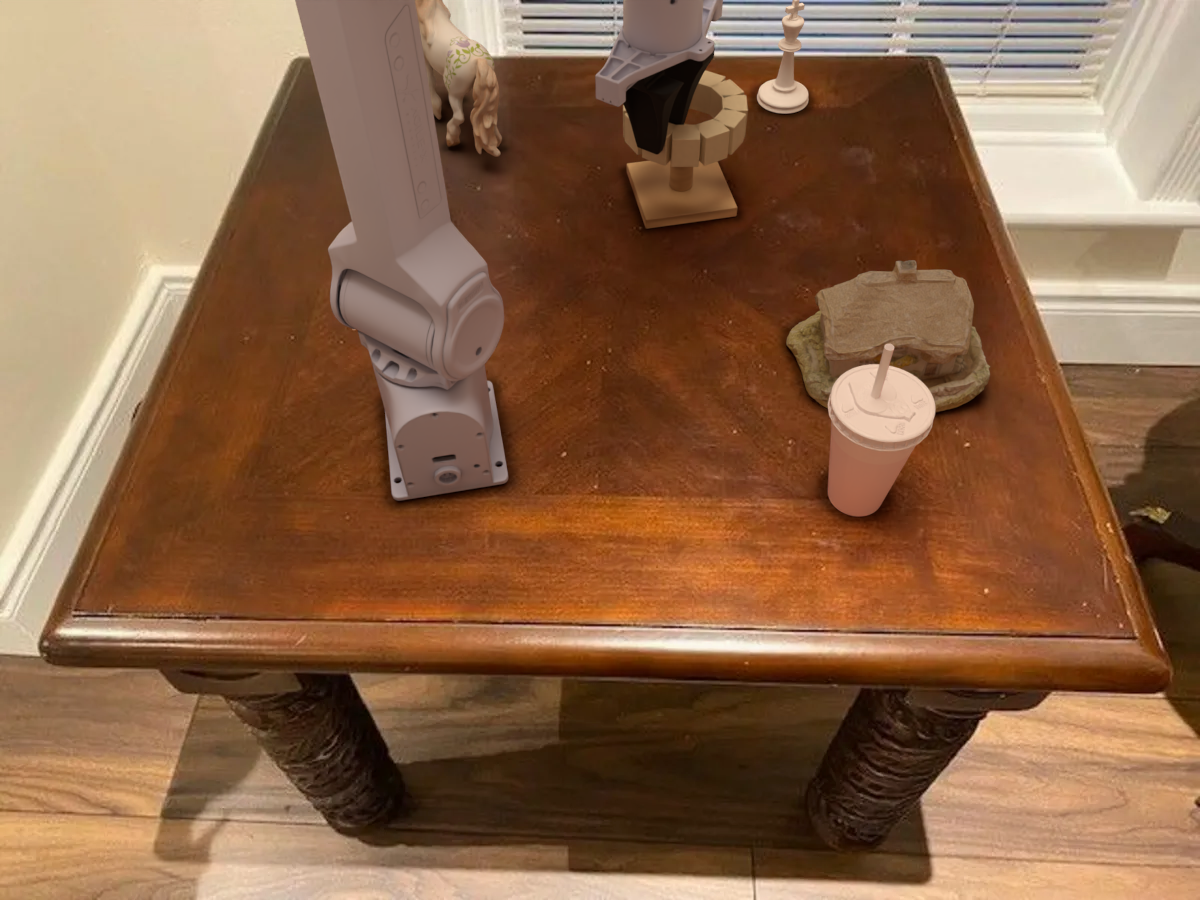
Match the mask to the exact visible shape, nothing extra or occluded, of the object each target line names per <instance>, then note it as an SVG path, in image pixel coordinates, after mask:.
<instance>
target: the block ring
mask: <svg viewBox="0 0 1200 900" xmlns="http://www.w3.org/2000/svg"><path fill="white" fill-rule="evenodd" d="M726 78H727V77H726V76H725V75H722V74H718V73H716V72H712V71H710V70H707V69H706V70H705V71H704V73H703V75H702V77H701V79H700V81H699V83H698V85H697V87H696V90H695V92H694V95H693V98H692V101H691V104H690V107H689V110H694V111H697V112H700V113H703V114H706V115H709V116H710V117H711V119H708V120H705V121H703V122H699V123H696V124H689V125H675V124H672V123H668V130H667V136H666V141H665V145H664V148H663V150H662V151H661V152H660V153H659V154H657V155H656V154H654V153H651V152H649V151H646V150H643V149H641V148H638V147H637V144H636V141H635V137H634V134H633V130H632V126H631V123H630V120H629V117H628V114H627V112H626V109H625V107H624V105H623V104H622V138H623V139H624V142H625V144H627V146H628V147H629V148H630V149H631V150H632V151H633V152H634V153H635V154H636V155H637V156H639V155H641V158H642V159H645V160H646V161H653V162H656V163H659V164H661V165H664V166H666V165H667V164H668V162H669V161H670V160H671V167H698V166H699V161H700V162H701V163H702V164H703V165H704V166H706V165H709V164H711V163H714V162H717V161H718V162H719V161H720V162H721V161H722V160H725V159H728V155H730V156H731V155H733V154H734V153H735V151H737V149H738V148H739V147H740V146H741V145H742V144H743V143H744V140H745V138H746V132H747V125H748V123H747V122H748V115H749V114H748V113H749V107H748V97H747V94H745V91H744V89H742V88H741V87H740V86H738V84H736V83H735V82H734V81H733V80H732V79H730V78H729V79H726Z"/></svg>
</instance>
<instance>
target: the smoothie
mask: <svg viewBox="0 0 1200 900" xmlns="http://www.w3.org/2000/svg"><path fill="white" fill-rule="evenodd" d="M893 351H894V346H893V345H892V344H886V345H885V347H884V350H883V354H882V357H881V361H880V364H869V365H862V366H858V367H855V368H852V369H850V370H848V371H847V372H845V373H843V374H842V375H841V376H840V377H839V378H838V379H837V380H836V382H835V383H834V385H833V387H832V391H831V394H830V396H829V400H828V408H827V412H828V416H829V418H830V420H831V422H830V443H829V444H830V445H829V459H828V460H829V462H828V476H827V477H828V479H827V496H828V499H829V502H830V503H831V504H832V506H833V507H834V508H835V509H837V510H838V511H839V512H841V513H842V514H845V515H848V516H851V517H867V516H870V515H872V514H874V513H875V512H877V511H878V510H879V508H880V507H881V506H882V504H883V502H884V500H885V499H886V497H887V495H888V493H889V492H890V490H891V489H892V487H893V485H894V484H895V482H896V480H897V478H898V476H900V473H901V471H902V469H903V468H904V466H905V465H906V463H907V461H908V459H909V458H910V457H911V454H912V453H913V451H914V450H915V448H916V446H917V445H919V444H920V443H922V441H923V440H925V439H926V438H927V437H928V435H929V434H930V433H931V430H932V428H933V424H934V419H935V416H936V412H935V402H934V398H933V396H932V394H931V392H930V391H929V389H928V388H927V387H926V385H925V384H924V383H923V382H922V381H921V380H919V379H918V378H917V377H915V376H914V375H912V374H911V373H909V372H907V371H905V370H902V369H900V368H897V367H893V366H889V364H890V361H891V357H892V354H893Z"/></svg>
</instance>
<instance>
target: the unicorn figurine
mask: <svg viewBox="0 0 1200 900" xmlns="http://www.w3.org/2000/svg"><path fill="white" fill-rule="evenodd" d="M415 4H416V10H417V16H418V22H419V28H420V35H421V41H422V47H423V53H424V59H425V65H426V71H427V77H428V84H429V90H430V96H431V102H432V108H433V114H434V117H435V118H436V119H437V120H441V119H442V104H443V101H442V99H441V97H440V96H439V95H438V93H437V90H436V87H437V79H436V76H435V74H434V70H435V71H436V73H438V74H439V75H440V76H441V77H442V79H443V85H444V86H445V89H446V91H447V94H448V102H449V104H450V107H451V110H452V113H453V115H452V117H451V119H450V120H449V121H448V122H447V123H446V135H445V136H446V137H445V140H446V145H447V147H449V148H450V147H455V146H458V145H459V144H460V143H461V140H460V136H461V133H462V132H461V126H460V125H462V124H464V122H465V120H466V119H465V114H464V109H463V108H464V106H463V101H464V98H465V96H466V94H468V93H469V92H470V91H472V96H471V97H472V100H473V102H474V103H473V104H472V105H473V108H472V110H471V112H470V116H469V120H470V123H471V125H472V129H473V130H472V133H473V137H474V146H475V149H476V152H477V153H478V155H482V153H483V150H484V151H485V153H487V154H489V155H491V156H492V157H494V158H495V157H496V158H497V157H501V151H500V149H498V148H499V147H500V144H502V141H503V136H502V135H501V133H500V131H499V128H498V126H497V125H498V111H499V110H498V109H499V105H500V86H499V81H498V78H497V73H496V72H495V68H496V67H495V66H496V65H495V61H494V58H493V57H492V55H491V54H490V53H489V51H488V50H487V48H486V47H485V46H484V45H482V44H481V43H480V42H479V41H477V40H474V39H471V38H469V37H468V36H467V35H466V34H465V33H464V32H462V31H461V30H460V29H459V28H458V27H457V26H456V25H455V24H454V23H453V22H452V21H451V20H450V19H451V15H452V14H451V12H450V10H449V8H448V7H447V6H446V4H445V3H444V1H443V0H415Z"/></svg>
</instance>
